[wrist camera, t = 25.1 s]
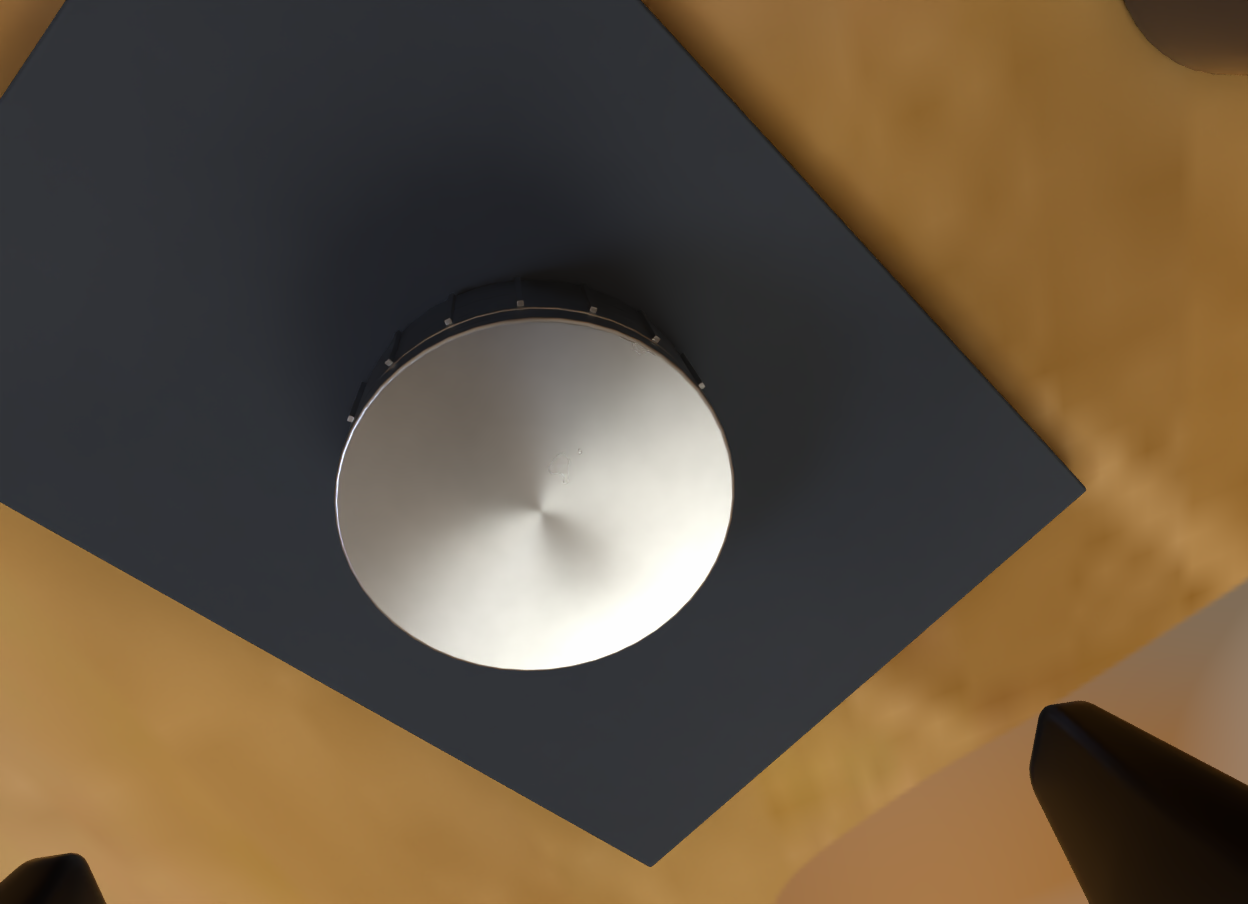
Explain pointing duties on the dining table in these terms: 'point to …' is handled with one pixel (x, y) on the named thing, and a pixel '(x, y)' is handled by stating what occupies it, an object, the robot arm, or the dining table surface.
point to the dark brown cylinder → (1197, 32)
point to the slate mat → (423, 278)
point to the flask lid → (532, 478)
